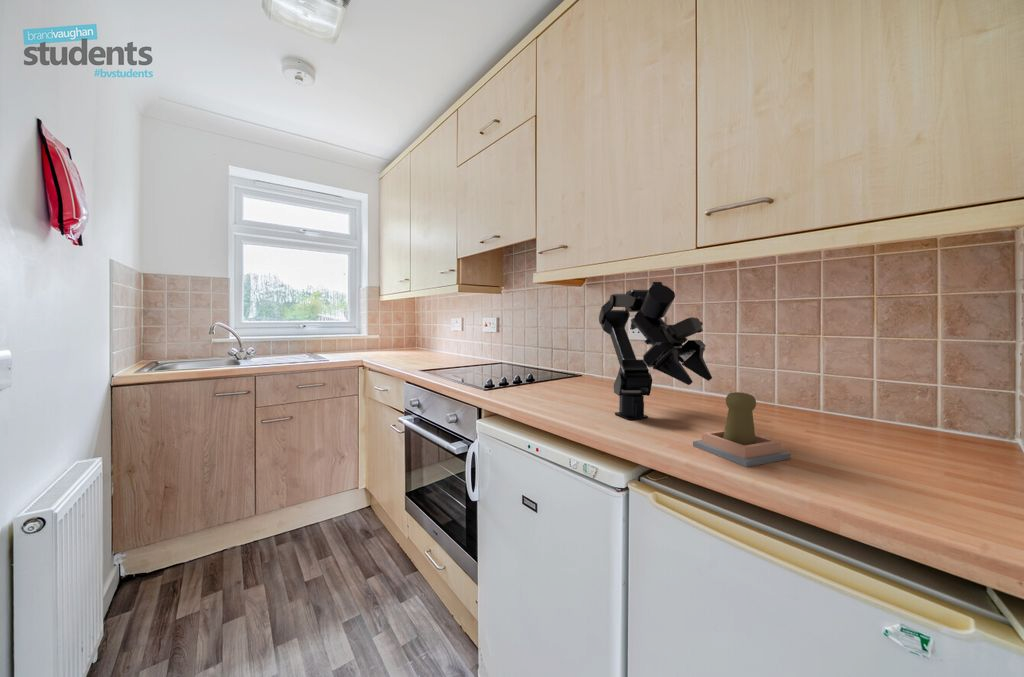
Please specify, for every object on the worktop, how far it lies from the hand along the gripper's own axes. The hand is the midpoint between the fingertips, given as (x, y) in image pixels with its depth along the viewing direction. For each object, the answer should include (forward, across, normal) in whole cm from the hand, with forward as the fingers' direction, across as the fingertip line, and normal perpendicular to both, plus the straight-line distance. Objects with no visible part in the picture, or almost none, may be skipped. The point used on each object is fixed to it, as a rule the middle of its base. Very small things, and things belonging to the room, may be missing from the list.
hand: (701, 381), depth 80 cm
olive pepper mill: (+14, 0, +3) cm, 15 cm away
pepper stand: (+15, 0, +4) cm, 15 cm away
